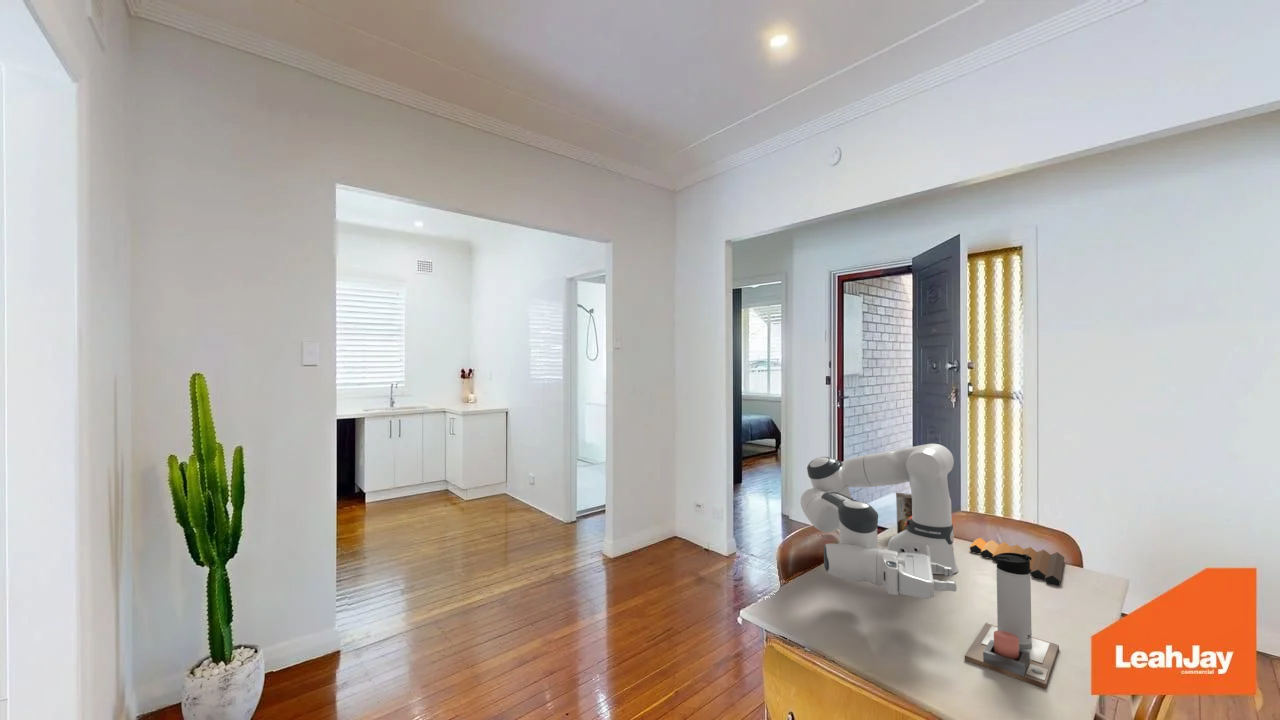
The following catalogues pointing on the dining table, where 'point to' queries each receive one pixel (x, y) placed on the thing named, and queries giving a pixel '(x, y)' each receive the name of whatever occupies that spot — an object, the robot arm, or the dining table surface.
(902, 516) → the coffee box
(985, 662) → the brown board with holder
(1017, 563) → the travel mug
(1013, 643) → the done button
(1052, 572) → the pan flute
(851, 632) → the dining table surface
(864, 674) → the dining table surface
